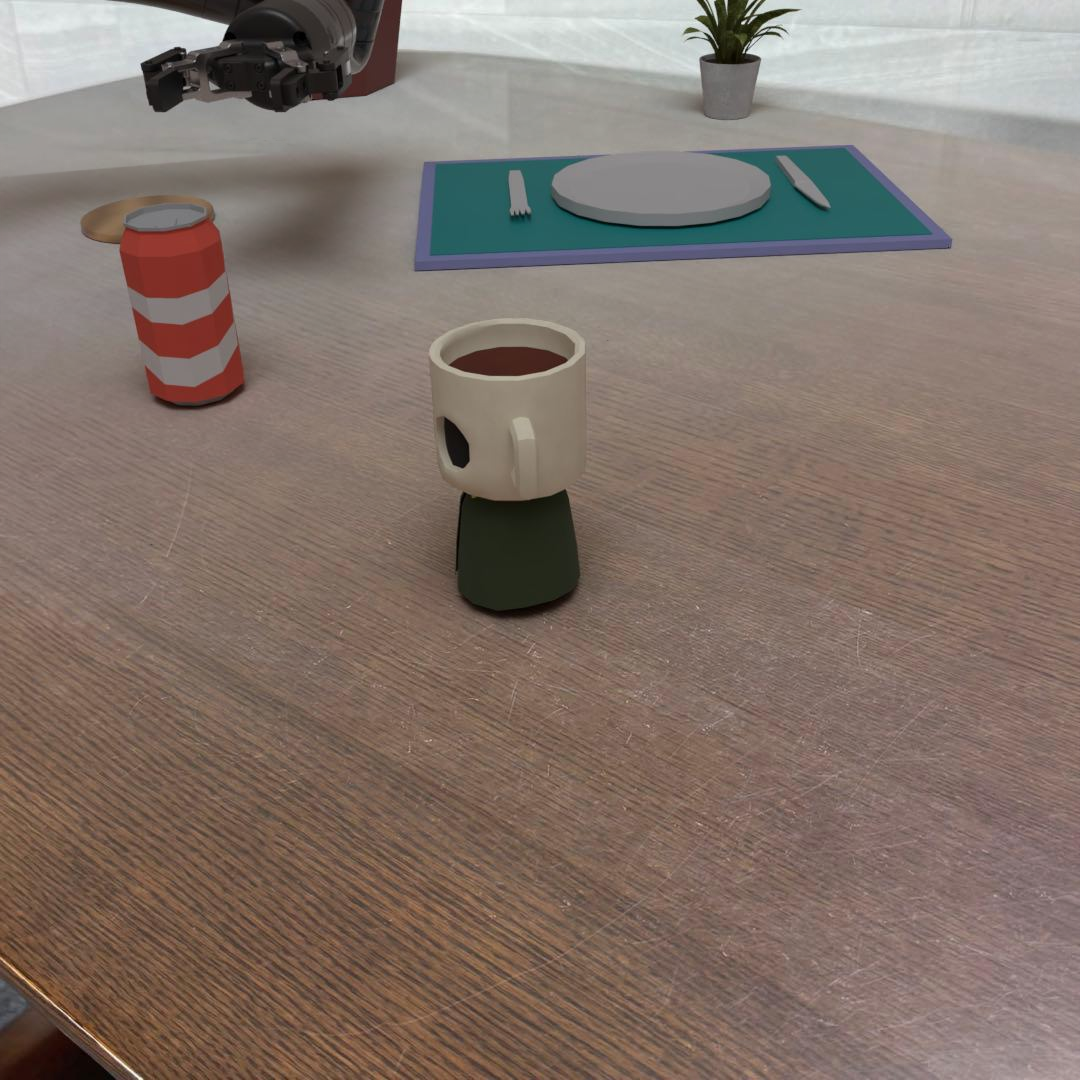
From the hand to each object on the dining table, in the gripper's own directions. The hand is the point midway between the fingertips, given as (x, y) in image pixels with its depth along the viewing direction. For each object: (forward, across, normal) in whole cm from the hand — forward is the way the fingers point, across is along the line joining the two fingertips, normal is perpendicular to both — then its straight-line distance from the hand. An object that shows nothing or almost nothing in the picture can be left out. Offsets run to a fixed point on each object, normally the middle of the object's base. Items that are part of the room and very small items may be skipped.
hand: (215, 97), depth 81 cm
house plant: (-65, -35, -17) cm, 76 cm away
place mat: (-31, -29, -17) cm, 46 cm away
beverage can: (+11, 0, -17) cm, 20 cm away
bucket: (-81, +16, -17) cm, 84 cm away
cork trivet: (-24, +18, -17) cm, 34 cm away
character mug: (+32, -24, -17) cm, 44 cm away
